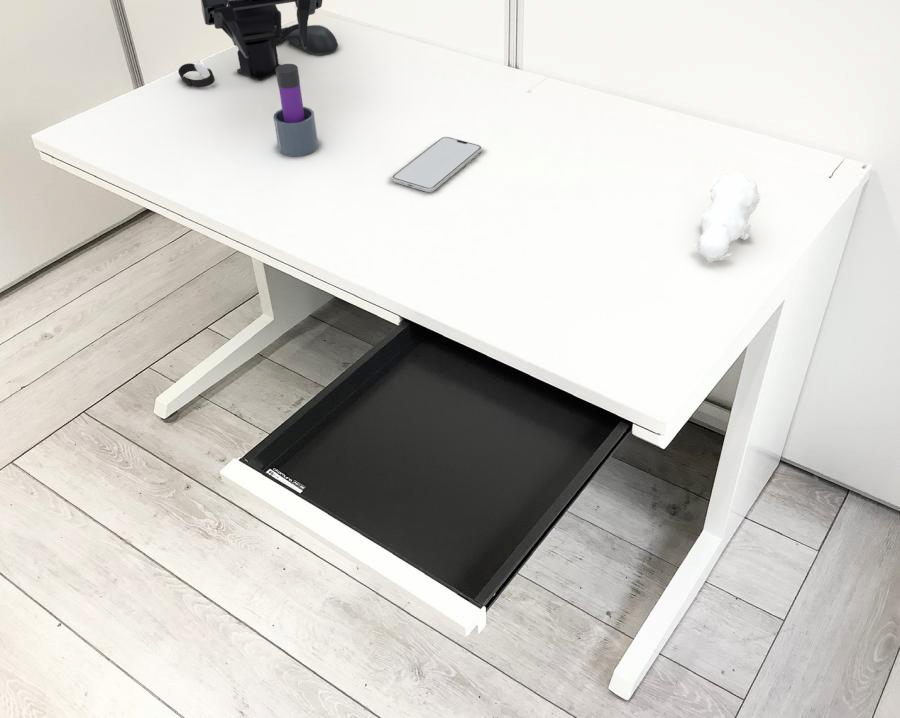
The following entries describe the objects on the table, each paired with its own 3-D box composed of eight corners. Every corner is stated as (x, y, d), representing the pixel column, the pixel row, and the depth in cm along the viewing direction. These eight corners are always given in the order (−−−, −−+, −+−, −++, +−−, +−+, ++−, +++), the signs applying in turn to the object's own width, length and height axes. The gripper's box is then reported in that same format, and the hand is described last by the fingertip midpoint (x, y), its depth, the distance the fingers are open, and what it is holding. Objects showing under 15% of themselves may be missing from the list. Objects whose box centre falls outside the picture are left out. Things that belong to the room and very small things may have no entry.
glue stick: (293, 138, 143) (282, 62, 134) (312, 141, 142) (301, 64, 134) (284, 147, 140) (271, 71, 132) (302, 150, 139) (291, 73, 131)
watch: (222, 82, 161) (218, 63, 159) (202, 92, 158) (198, 72, 156) (193, 73, 164) (189, 54, 162) (173, 82, 162) (169, 62, 159)
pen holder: (298, 134, 145) (294, 102, 141) (326, 144, 142) (322, 112, 138) (270, 149, 141) (265, 117, 137) (298, 160, 138) (293, 127, 134)
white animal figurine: (767, 172, 114) (741, 225, 107) (756, 225, 120) (730, 279, 113) (718, 161, 116) (689, 212, 109) (709, 214, 122) (681, 266, 115)
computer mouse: (313, 62, 167) (311, 41, 164) (263, 44, 174) (259, 24, 172) (352, 45, 172) (350, 25, 170) (301, 28, 180) (298, 9, 177)
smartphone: (389, 177, 132) (443, 135, 141) (389, 181, 132) (443, 139, 142) (431, 190, 129) (483, 146, 138) (431, 194, 129) (484, 150, 139)
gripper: (188, -64, 129) (214, 38, 129) (313, -80, 134) (339, 19, 133) (192, -24, 140) (217, 70, 140) (308, -40, 145) (332, 51, 144)
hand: (276, 52), depth 139 cm, fingers open, 9 cm apart
